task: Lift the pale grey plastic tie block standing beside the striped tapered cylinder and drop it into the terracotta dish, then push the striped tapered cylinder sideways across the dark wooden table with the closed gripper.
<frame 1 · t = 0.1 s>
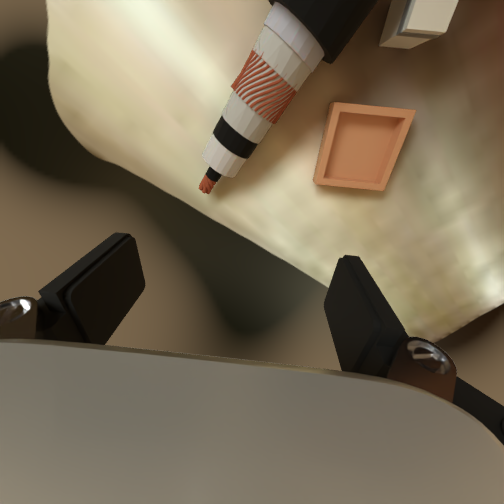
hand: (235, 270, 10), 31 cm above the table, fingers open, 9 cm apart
dish: (355, 148, 35), on the table
tie block: (400, 26, 28), on the table
striped tapered cylinder: (265, 92, 32), on the table
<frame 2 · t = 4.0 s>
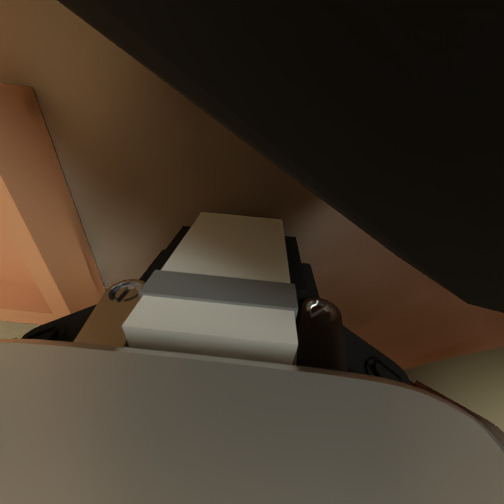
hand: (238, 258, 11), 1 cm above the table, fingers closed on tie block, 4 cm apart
tie block: (240, 250, 12), on the table, touching gripper
when the fingers open (3 cm above the table, at t = 7.9 s): tie block drops 2 cm, resting on dish.
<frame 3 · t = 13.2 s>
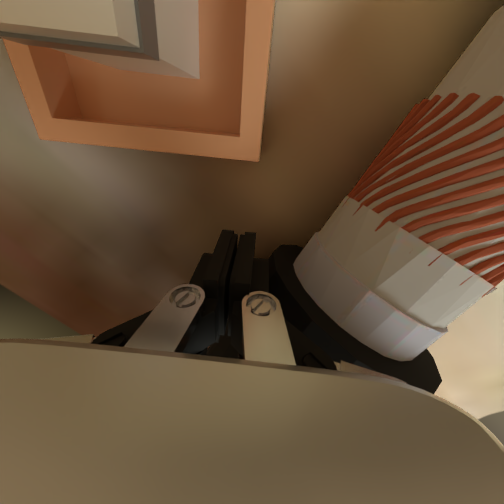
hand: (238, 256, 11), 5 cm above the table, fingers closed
dish: (155, 15, 10), on the table
tie block: (154, 18, 10), point 1 cm above the table, touching dish
striped tapered cylinder: (398, 173, 14), on the table
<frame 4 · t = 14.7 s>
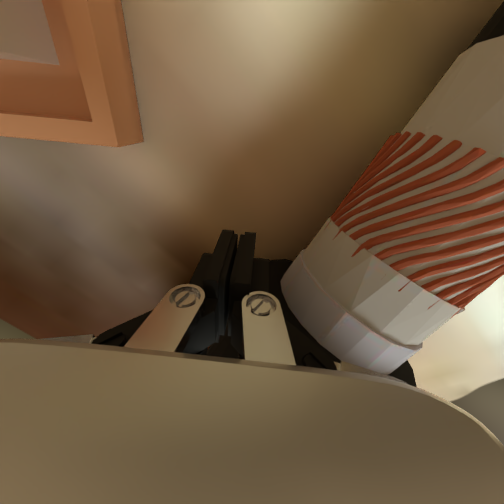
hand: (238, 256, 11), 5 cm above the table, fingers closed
dish: (6, 0, 10), on the table
striped tapered cylinder: (382, 191, 14), on the table
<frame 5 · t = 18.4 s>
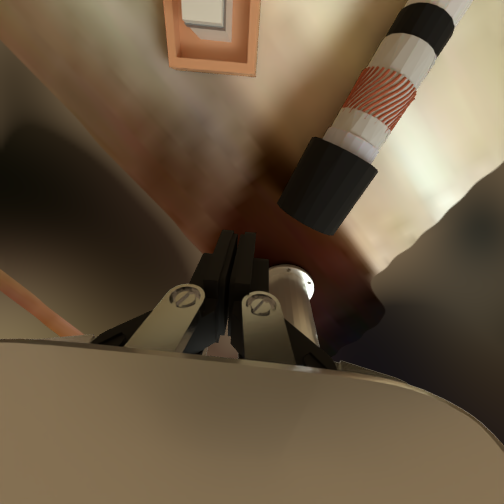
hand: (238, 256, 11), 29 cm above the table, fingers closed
dish: (215, 17, 28), on the table
tie block: (215, 18, 27), point 1 cm above the table, touching dish
striped tapered cylinder: (363, 104, 32), on the table
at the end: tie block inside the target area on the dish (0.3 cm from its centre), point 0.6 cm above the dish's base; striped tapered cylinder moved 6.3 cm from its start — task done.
